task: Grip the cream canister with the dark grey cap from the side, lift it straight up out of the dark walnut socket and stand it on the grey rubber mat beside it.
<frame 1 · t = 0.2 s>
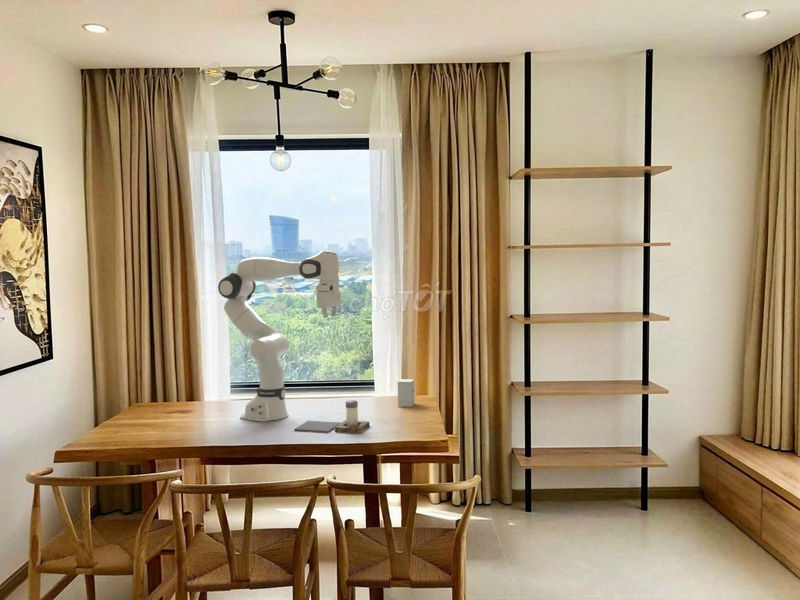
hand: (329, 316, 287), 48 cm above the table, tool pointing down, fingers open, 8 cm apart
cream canister: (352, 415, 275), in the walnut socket
grey mat: (317, 427, 279), on the table
walnut socket: (352, 428, 276), on the table
supplement box: (406, 405, 316), on the table
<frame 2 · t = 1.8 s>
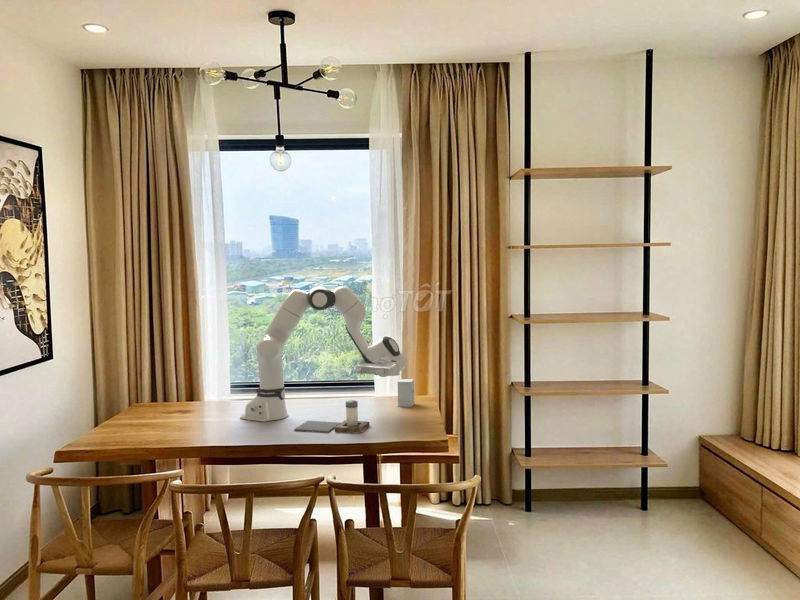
hand: (366, 372, 284), 23 cm above the table, tool horizontal, fingers open, 8 cm apart
nothing on the table moved.
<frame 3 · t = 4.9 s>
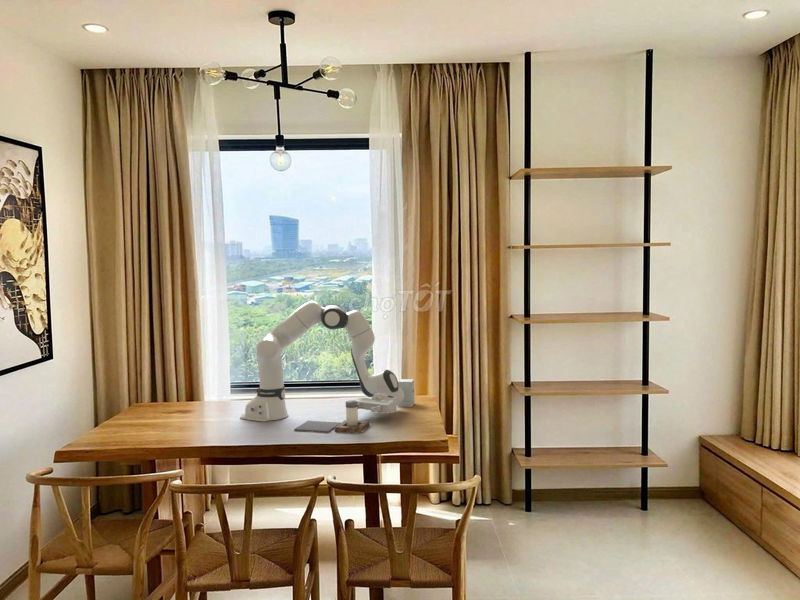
hand: (363, 408, 283), 7 cm above the table, tool horizontal, fingers open, 8 cm apart
nothing on the table moved.
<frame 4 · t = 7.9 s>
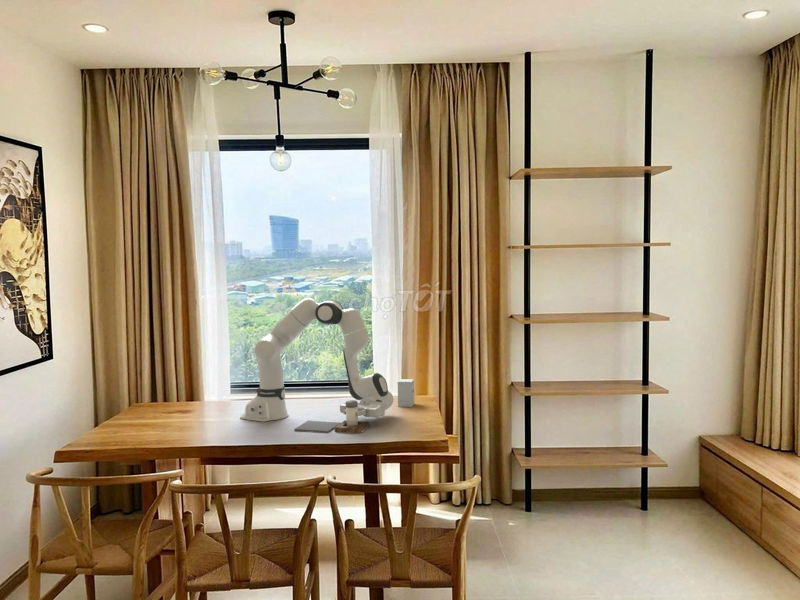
hand: (350, 413, 274), 7 cm above the table, tool horizontal, fingers closed on cream canister, 5 cm apart
cream canister: (351, 415, 275), in the walnut socket, touching gripper
everything else where it was.
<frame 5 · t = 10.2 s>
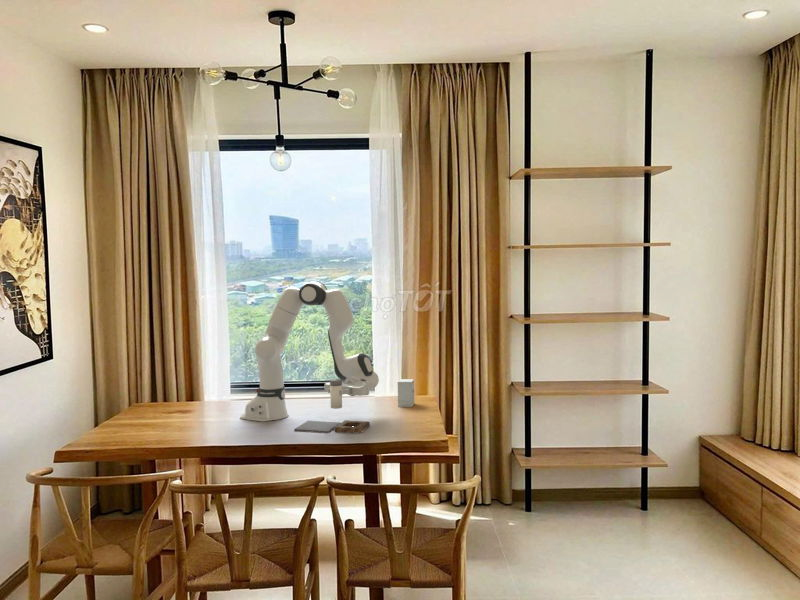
hand: (334, 391, 275), 16 cm above the table, tool horizontal, fingers closed on cream canister, 5 cm apart
cream canister: (336, 393, 276), point 15 cm above the table, touching gripper
everything else where it was.
when the fingers open (9 cm above the table, at t = 12.7 s): cream canister drops 1 cm, resting on grey mat.
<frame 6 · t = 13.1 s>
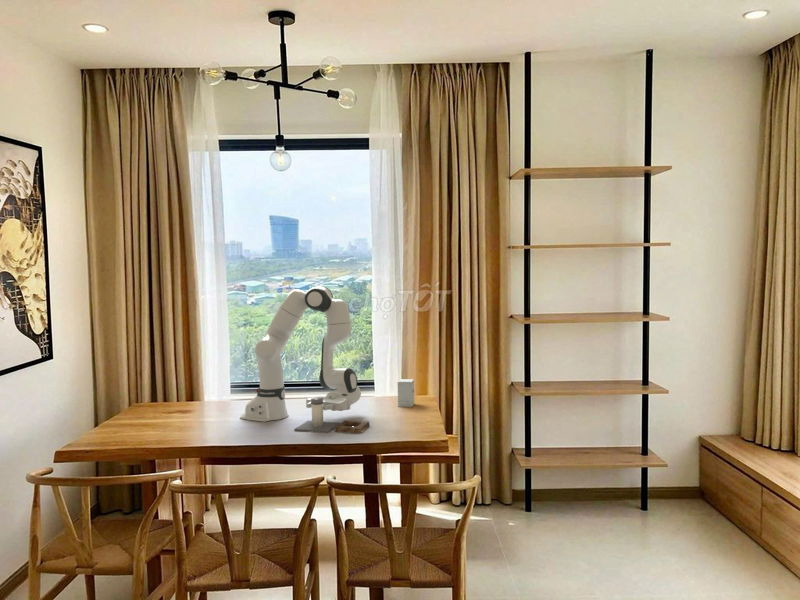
hand: (315, 407, 278), 9 cm above the table, tool horizontal, fingers open, 8 cm apart
cream canister: (317, 412, 279), on the grey mat, point 7 cm above the table
everything else where it was.
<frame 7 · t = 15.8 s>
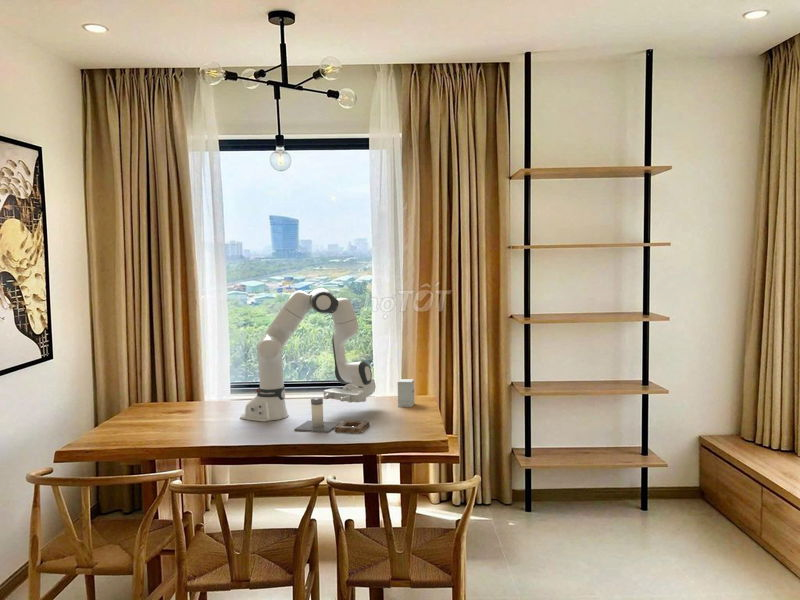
hand: (333, 398, 289), 10 cm above the table, tool horizontal, fingers open, 8 cm apart
nothing on the table moved.
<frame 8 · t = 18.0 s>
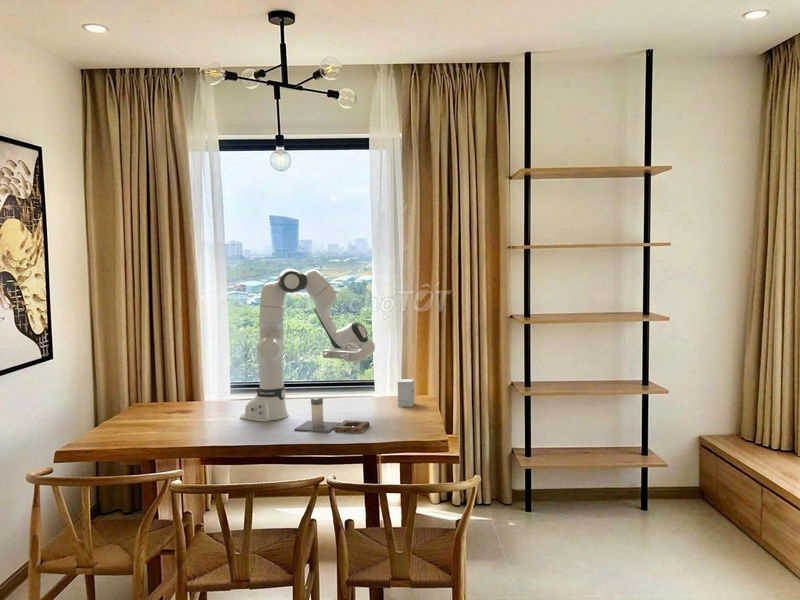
hand: (332, 356, 286), 30 cm above the table, tool horizontal, fingers open, 8 cm apart
nothing on the table moved.
at the end: cream canister inside the target area on the grey mat (0.0 cm from its centre), point 6.8 cm above the grey mat's base; cream canister tilted 0°; the gripper is holding nothing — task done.
